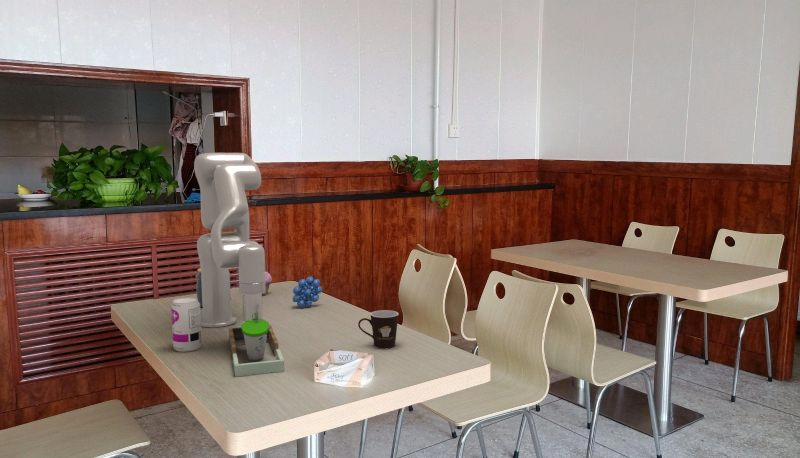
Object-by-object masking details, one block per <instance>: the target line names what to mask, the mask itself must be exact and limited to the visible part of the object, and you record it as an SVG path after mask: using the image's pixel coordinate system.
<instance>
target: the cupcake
mask: <svg viewBox="0 0 800 458" xmlns="http://www.w3.org/2000/svg"><path fill="white" fill-rule="evenodd" d="M272 281H273V278H272V275H271V273H269V272H268V271H265V283H266V292H265V293H262V296H266V295H267V294H268V291H269V288H270V284H271V282H272Z"/></svg>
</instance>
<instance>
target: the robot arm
mask: <svg viewBox="0 0 800 458" xmlns="http://www.w3.org/2000/svg"><path fill="white" fill-rule="evenodd" d="M193 167H194V168H193V169H194V174H195V178H196V179H197V183H198V185H199V190H200V220H201V224H202V226H203V228H205V229H208V230H211V231H210V232H208V233H205V234H203V235H201V236H200V237H199V238H198V239H197V241H196V249H197V253H198V258H199V265H200V267H199V268H201V282H202V305H203V308H200V316H201V327H203V328H221V327H228V326H231V325H233V324H235V323H236V322H237V317H235V316H234V315H232V303H231V302H232V295H231V283H230V282H231V273H230V271H229V269H230V268H231V269H233V268H238V288H239V289H238V290H239V291H238V292H239V294H240V295H242V322H243V323H244V322H245V321H247V320H249V321H252V319H257V316H256V312H257V305H258V304H259V312H258V318H259V319H263V295H262V293H265V292H266V283H265V272H266V254H265V252H266V251H265V249H264V247H263V246H262V245H260V244H259V243H258V242H257V241H253V240H250V211H249V205H248V199H247V194H246V191H256V190H258V189H259V188H260V187H261V185H262V174H261V171H260V169H259V166H258V165H257V164H256V162H255V161H254V160H253V159H252V158H251V157H250V156H249V155H248V154H247V153H243V152H205V153H200V154H198V155H197V156H196V157H195V159H194V162H193ZM227 229H234V231H223V230H227ZM227 268H228V269H227ZM243 323H242V324H243Z"/></svg>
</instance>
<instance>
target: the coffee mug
mask: <svg viewBox="0 0 800 458" xmlns="http://www.w3.org/2000/svg"><path fill="white" fill-rule="evenodd" d="M369 315H370V319H369V318H367V317H363V318H360V320H358V323H357V324H358V325H357V326H358V328H359V330H361V332H363V333H364V334H365V335H368V336H369V337H371V339H372V340H373V346H374V347H375V348H377V349H381V348H382V350H385V349H386V348H388V349H392V347H393V348H394V347H395V346H396V340H397V330H398V329H397V328H398V323H399V312H397V311H395V310H389V309H387V310H386V309H384V310H383V309H382V310H375V311H372V312H370V314H369ZM363 321H367V322H368V323H369V324H370V325H371V330H372V331H371V332H372V333H369V332H368V331H366V330H364V329H363V328H362V327H361V324H362V322H363Z"/></svg>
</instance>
